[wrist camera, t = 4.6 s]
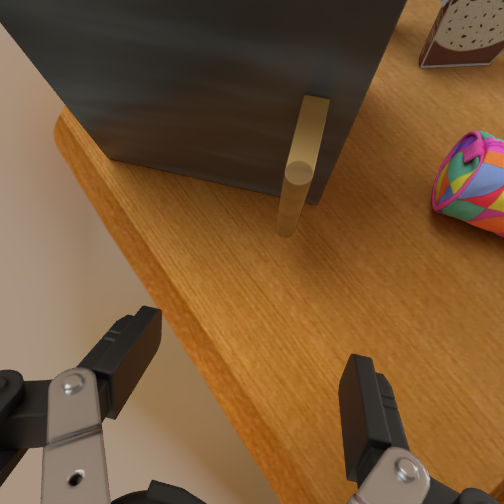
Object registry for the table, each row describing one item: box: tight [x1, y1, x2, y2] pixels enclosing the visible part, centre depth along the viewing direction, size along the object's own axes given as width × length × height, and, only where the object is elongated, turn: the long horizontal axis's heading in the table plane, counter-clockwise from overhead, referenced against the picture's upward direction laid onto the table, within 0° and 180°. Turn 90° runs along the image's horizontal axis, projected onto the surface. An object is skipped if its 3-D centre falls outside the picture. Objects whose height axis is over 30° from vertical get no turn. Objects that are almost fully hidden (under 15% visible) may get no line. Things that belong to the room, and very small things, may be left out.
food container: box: [419, 0, 504, 68], centre depth 38 cm, size 12×6×10 cm, turn 92°
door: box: [0, 0, 407, 238], centre depth 25 cm, size 8×26×24 cm, turn 76°
